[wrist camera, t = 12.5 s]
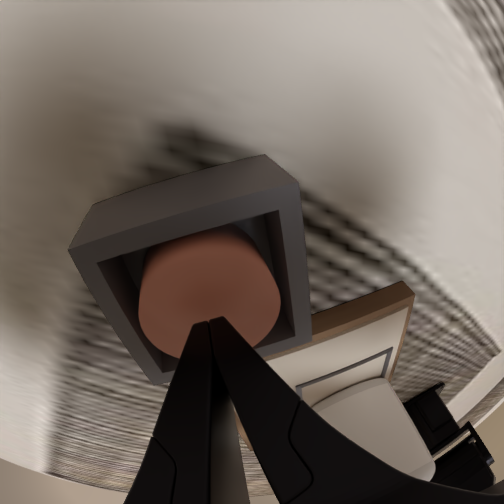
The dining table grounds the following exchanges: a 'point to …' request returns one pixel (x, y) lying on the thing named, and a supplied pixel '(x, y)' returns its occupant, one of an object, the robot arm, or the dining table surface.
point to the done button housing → (188, 222)
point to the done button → (206, 287)
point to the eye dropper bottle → (379, 426)
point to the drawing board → (346, 346)
